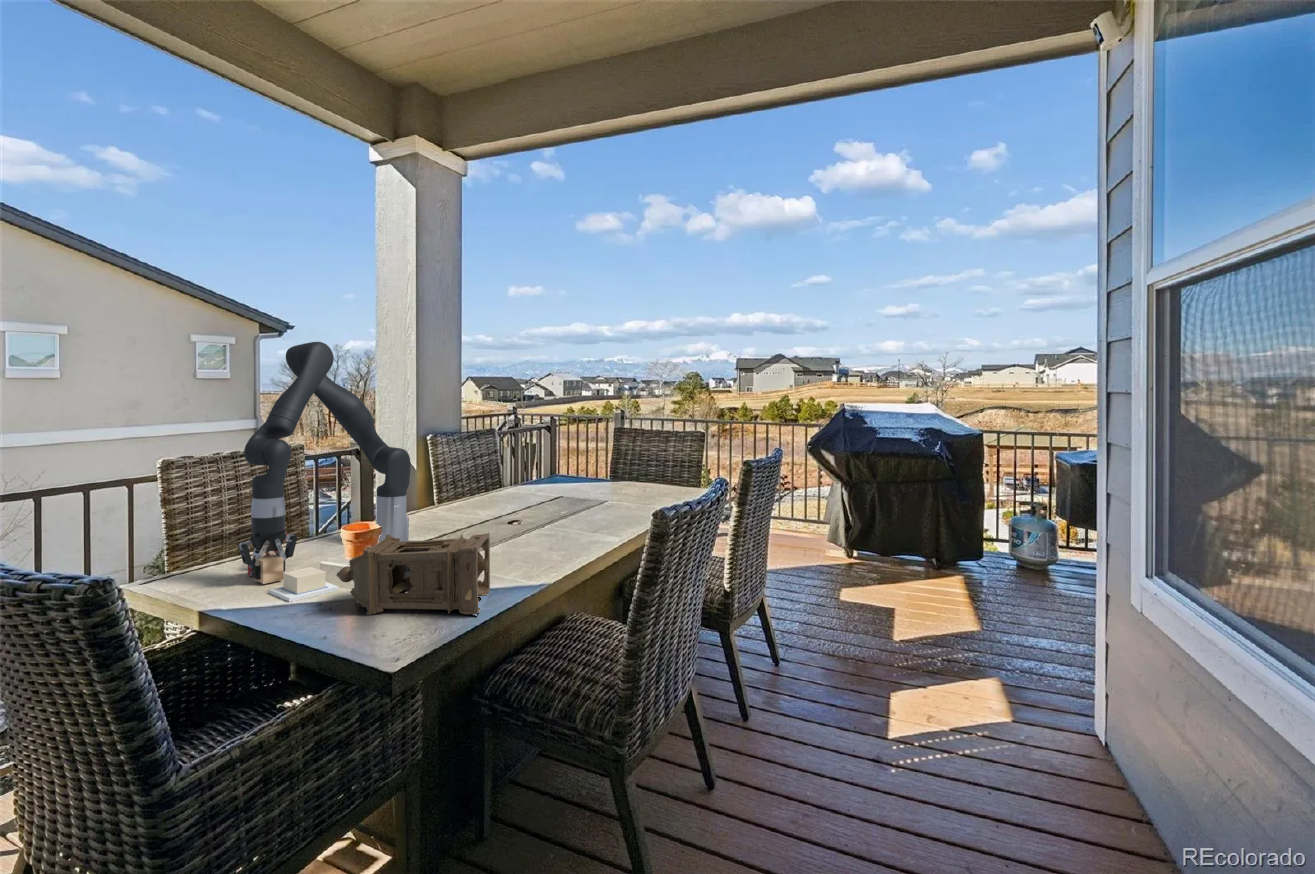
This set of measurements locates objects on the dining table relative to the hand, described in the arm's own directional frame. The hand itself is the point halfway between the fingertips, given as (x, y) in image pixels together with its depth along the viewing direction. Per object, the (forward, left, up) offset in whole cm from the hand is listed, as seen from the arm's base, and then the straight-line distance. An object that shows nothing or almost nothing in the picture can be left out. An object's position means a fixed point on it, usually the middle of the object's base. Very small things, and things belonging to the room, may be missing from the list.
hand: (268, 576), depth 161 cm
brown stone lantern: (-13, +44, -2) cm, 45 cm away
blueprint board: (-2, +15, -1) cm, 15 cm away
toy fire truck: (-5, -11, -2) cm, 12 cm away
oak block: (0, 0, -1) cm, 1 cm away
